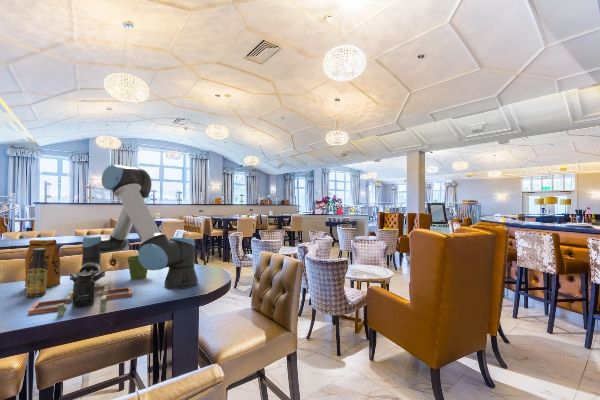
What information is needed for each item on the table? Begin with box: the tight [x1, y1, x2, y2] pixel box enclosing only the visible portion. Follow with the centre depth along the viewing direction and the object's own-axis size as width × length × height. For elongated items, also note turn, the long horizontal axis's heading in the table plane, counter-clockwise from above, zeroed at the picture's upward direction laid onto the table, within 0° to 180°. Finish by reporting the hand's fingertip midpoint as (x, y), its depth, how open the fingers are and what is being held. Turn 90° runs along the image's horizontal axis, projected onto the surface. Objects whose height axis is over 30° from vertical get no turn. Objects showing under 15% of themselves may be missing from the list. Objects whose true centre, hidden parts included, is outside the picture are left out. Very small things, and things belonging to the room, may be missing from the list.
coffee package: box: [24, 239, 62, 288], centre depth 140 cm, size 10×12×22 cm
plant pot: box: [125, 254, 148, 281], centre depth 155 cm, size 12×12×11 cm
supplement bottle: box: [72, 273, 96, 309], centre depth 113 cm, size 7×7×12 cm
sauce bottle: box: [26, 248, 48, 298], centre depth 125 cm, size 6×6×20 cm
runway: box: [28, 284, 133, 318], centre depth 119 cm, size 32×32×4 cm
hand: (83, 283), depth 116 cm, fingers closed
